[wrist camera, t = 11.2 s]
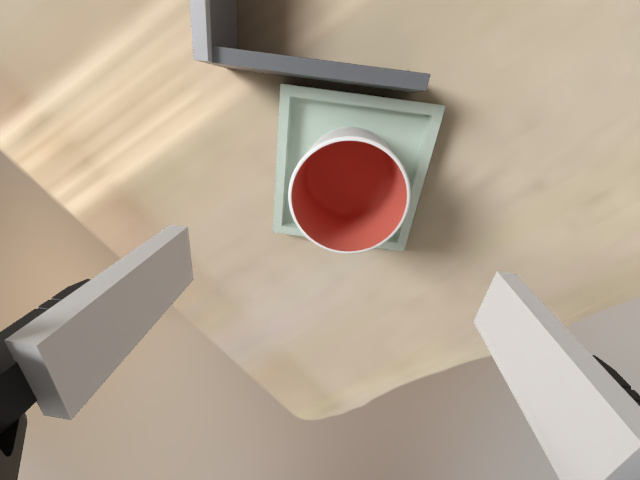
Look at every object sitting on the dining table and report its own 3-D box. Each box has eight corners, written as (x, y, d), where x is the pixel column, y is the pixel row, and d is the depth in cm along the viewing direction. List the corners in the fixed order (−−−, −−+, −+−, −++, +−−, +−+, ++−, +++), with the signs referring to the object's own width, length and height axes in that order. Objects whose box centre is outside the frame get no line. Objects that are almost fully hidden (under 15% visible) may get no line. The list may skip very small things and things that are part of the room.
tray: (284, 84, 30) (280, 83, 28) (439, 105, 29) (445, 105, 27) (276, 225, 37) (272, 232, 35) (401, 243, 36) (403, 251, 34)
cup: (287, 158, 32) (263, 180, 23) (366, 105, 29) (373, 108, 20) (334, 228, 36) (328, 271, 27) (409, 187, 32) (431, 221, 24)
